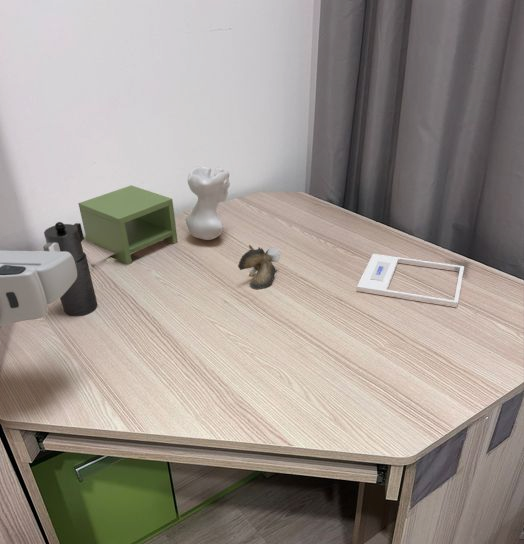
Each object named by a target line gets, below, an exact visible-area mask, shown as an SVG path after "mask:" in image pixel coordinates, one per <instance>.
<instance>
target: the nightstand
mask: <svg viewBox="0 0 524 544" xmlns="http://www.w3.org/2000/svg"><path fill="white" fill-rule="evenodd" d="M78 209H79V213H80V217H81V221H82V226H83V230H84V234H85V239H86V241H87V242H89V243H92V244H95V245H97V246H99V247H102V248H103V249H106V250H107V251H110V252H111V253H114V254H112V255H109V257H110V258H112V259H114V260H116V261H118V262H120V263H123V264H125V265H127V266H128V265H130V264H132V263H133V261H132V254H133V253H136V252H138V251H140V250H143V249H145V248H147V247H150V246H152V245H155V244H156V243H159V242H161V241H165V242H168V243H170V244H177V243H179V242H178V233H177V225H176V217H175V209H174V203H173V198H171V197H169V196H166V195H163V194H159V193H157V192H153V191H150V190H148V189H144V188H141V187H138V186H134V185H128V186H124V187H122V188H118V189H116V190H113V191H110V192H108V193H103V194H101V195H99V196H96V197H93V198H92V197H91V198H90V199H86V200H84V201H81V202H78Z"/></svg>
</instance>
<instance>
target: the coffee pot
mask: <svg viewBox="0 0 524 544" xmlns="http://www.w3.org/2000/svg"><path fill="white" fill-rule="evenodd" d="M43 235H44V238H45V242H46V243H58V244H59V248H60V252H69V253H70V254H71V255H72V256H73V258H74V261H75V264H76V268H77V278H76V280H75V282H74V283H73V284H72V285H71V287H70V288H69V289H68V290H67V291H66V292H65V293H64V295H63V296H62V297H61V298H59V300H60V302H61V306H62V310H63V313H64V314H66V315H67V316H70V317H81V316H86V315H88V314H91V313H93V312H94V311H95V310H97V308H98V301H97V295H96V291H95V288H94V287H95V286H94V283H93V279H92V274H91V271H90V266H89V262H88V258H87V255H86V252H84V249H83V244H82V242H83V241H84V239H85V237H84V233H83V229H82V224H81V223H79V222H75V223H74V224H72V223H64V222H61V221H57V222H56V223H55V224H54V225H53V226H50V227H47V228H46V229H45V230H44V232H43Z"/></svg>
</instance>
